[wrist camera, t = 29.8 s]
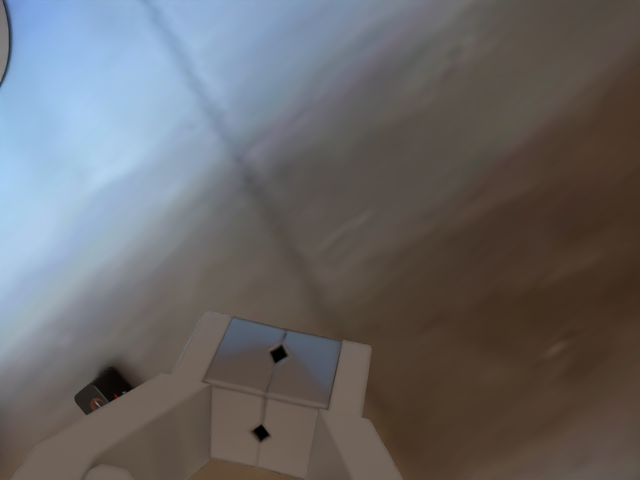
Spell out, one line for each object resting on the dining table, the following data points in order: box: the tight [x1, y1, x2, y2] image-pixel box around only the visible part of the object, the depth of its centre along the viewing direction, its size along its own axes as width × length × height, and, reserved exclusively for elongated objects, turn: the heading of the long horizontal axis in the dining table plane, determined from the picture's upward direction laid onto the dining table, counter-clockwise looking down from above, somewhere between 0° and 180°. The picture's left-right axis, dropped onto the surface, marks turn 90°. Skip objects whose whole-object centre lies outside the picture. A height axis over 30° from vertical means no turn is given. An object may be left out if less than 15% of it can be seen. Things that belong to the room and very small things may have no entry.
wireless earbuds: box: [75, 369, 131, 415], centre depth 51 cm, size 5×7×3 cm, turn 40°
